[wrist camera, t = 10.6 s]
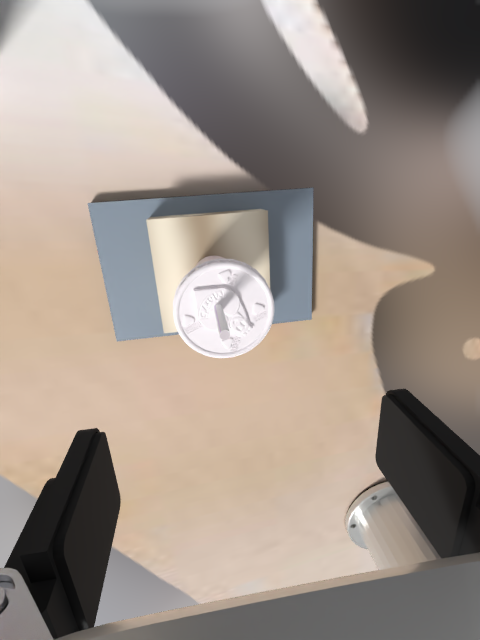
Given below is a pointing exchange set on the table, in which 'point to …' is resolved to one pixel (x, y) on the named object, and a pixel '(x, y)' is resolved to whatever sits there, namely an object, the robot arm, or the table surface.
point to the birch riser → (204, 247)
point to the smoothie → (223, 307)
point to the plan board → (130, 215)
